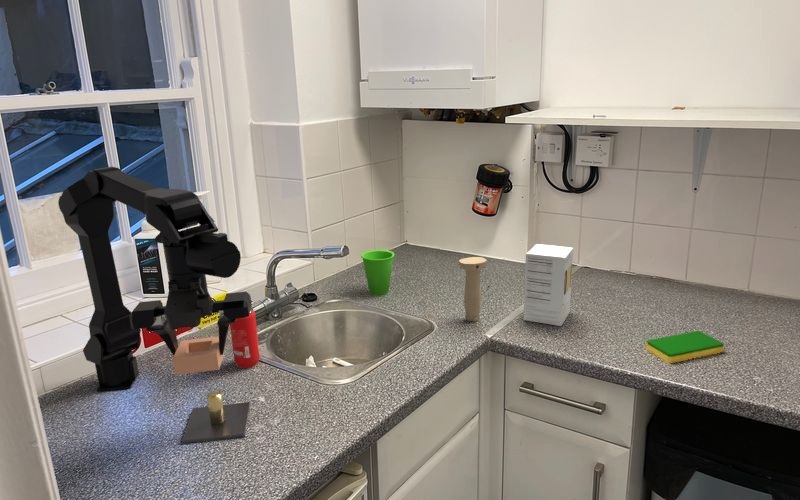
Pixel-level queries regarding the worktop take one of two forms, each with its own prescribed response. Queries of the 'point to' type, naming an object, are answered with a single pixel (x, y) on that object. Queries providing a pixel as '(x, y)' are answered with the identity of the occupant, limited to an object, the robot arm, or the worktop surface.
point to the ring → (197, 355)
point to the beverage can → (245, 341)
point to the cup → (378, 270)
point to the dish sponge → (684, 346)
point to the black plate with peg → (217, 420)
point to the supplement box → (548, 284)
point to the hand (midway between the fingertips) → (200, 356)
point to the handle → (472, 286)
